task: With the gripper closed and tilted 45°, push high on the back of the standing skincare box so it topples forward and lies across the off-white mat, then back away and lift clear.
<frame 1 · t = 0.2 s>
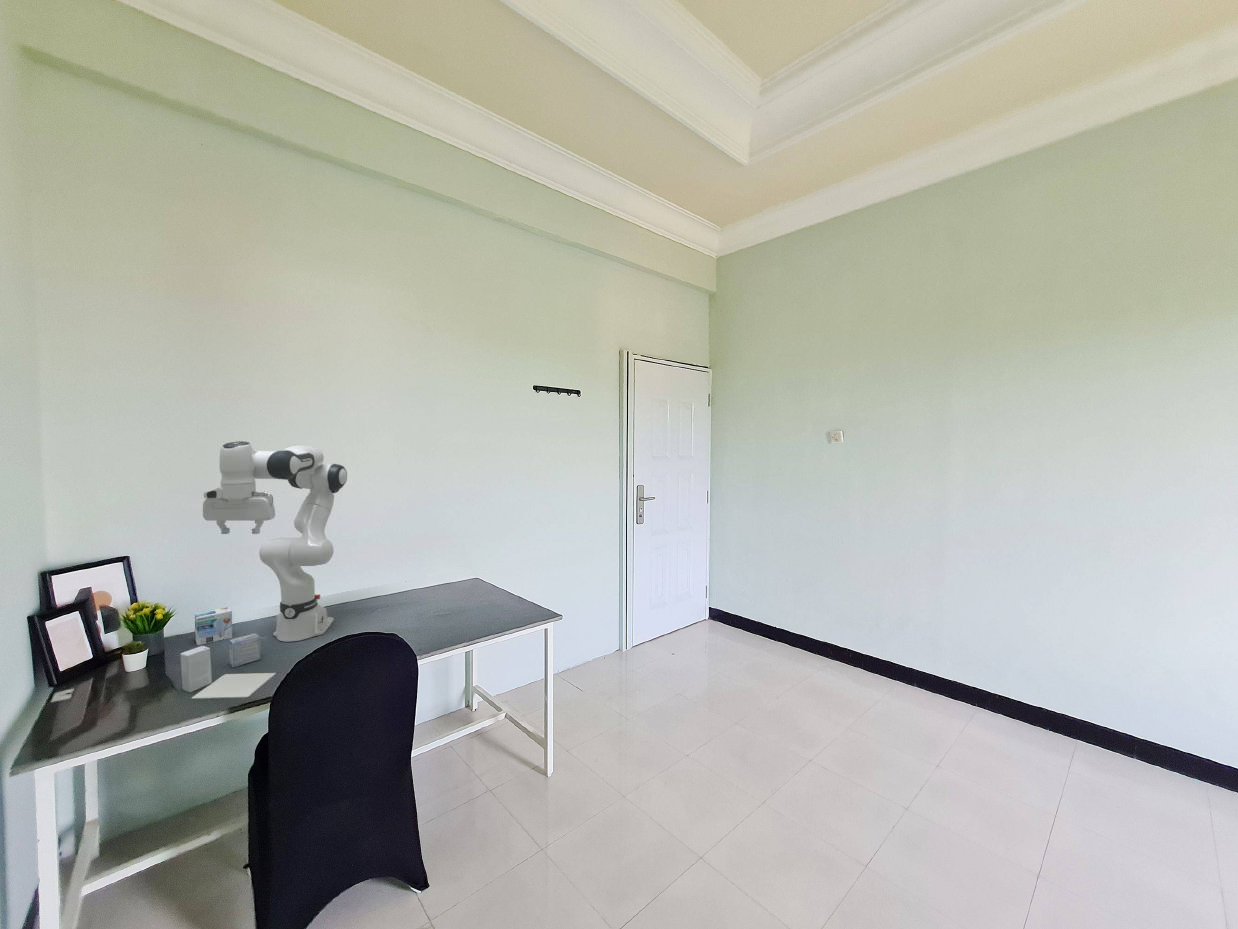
hand: (240, 533, 154), 48 cm above the table, tool pointing down, fingers open, 8 cm apart
light bulb box: (214, 639, 183), on the table
off-white mat: (235, 685, 151), on the table
skincare box: (197, 687, 150), on the table
medicine box: (245, 662, 166), on the table
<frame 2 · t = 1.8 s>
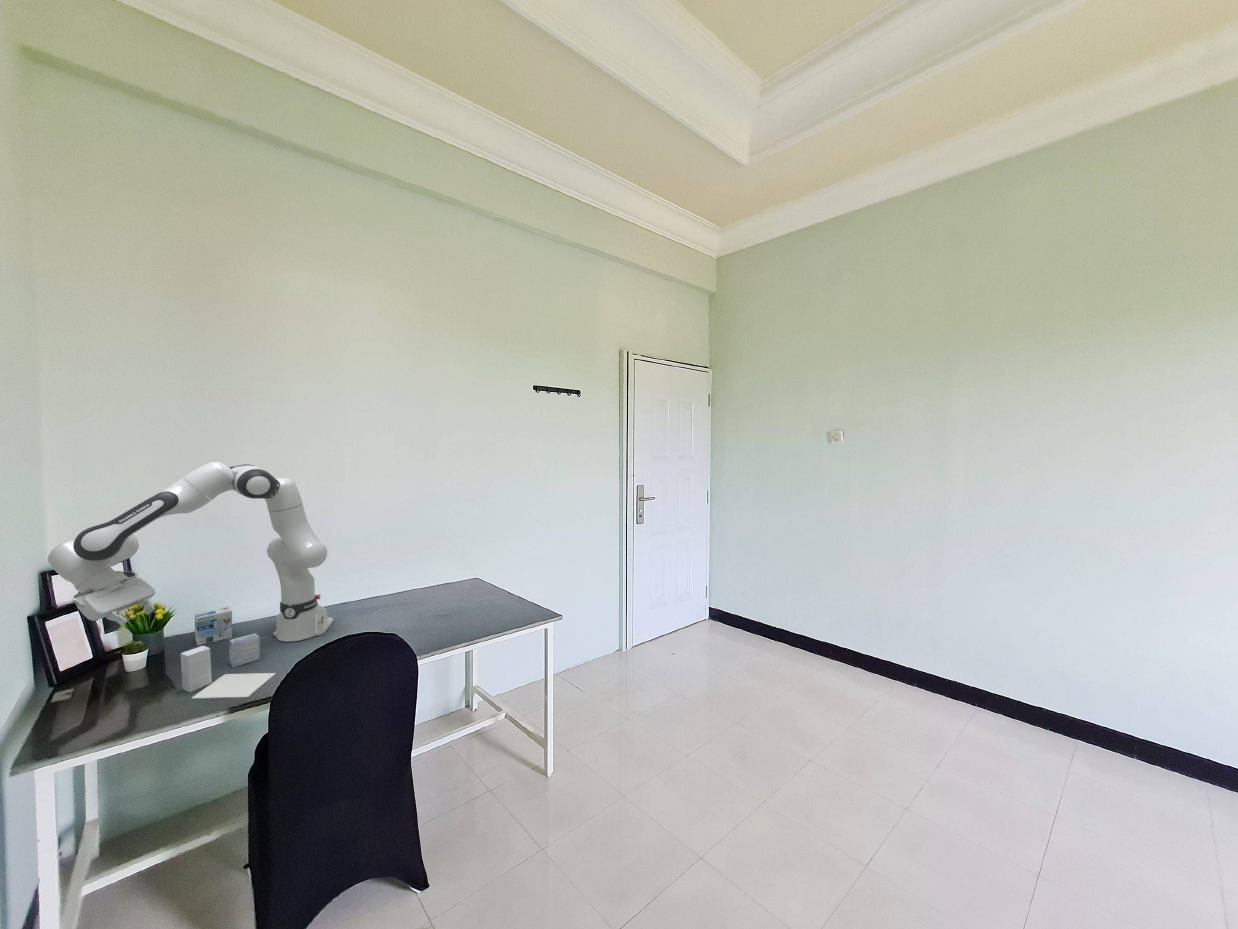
hand: (139, 617, 146), 23 cm above the table, tool tilted 45°, fingers open, 8 cm apart
nothing on the table moved.
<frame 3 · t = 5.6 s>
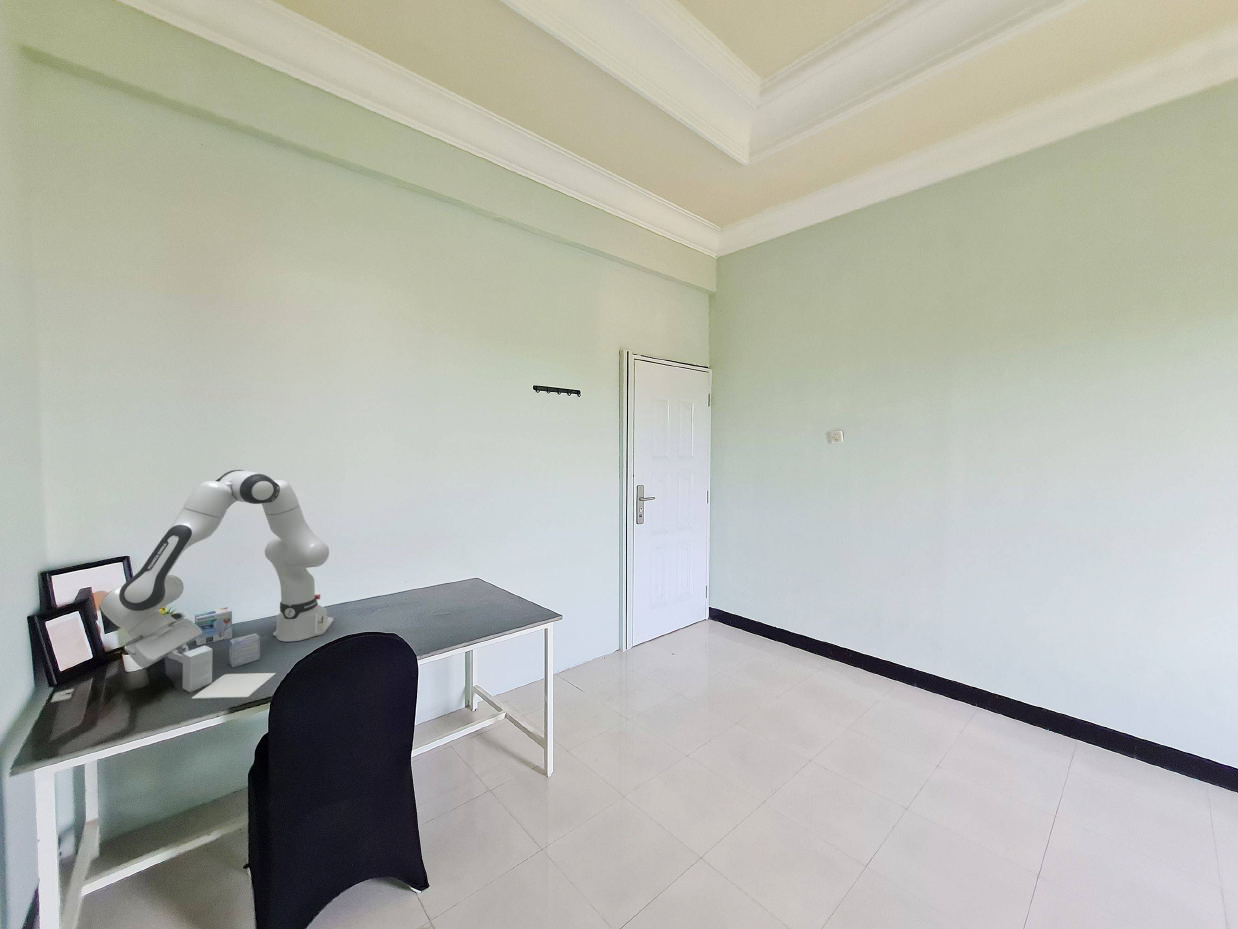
hand: (187, 659, 149), 9 cm above the table, tool tilted 45°, fingers closed
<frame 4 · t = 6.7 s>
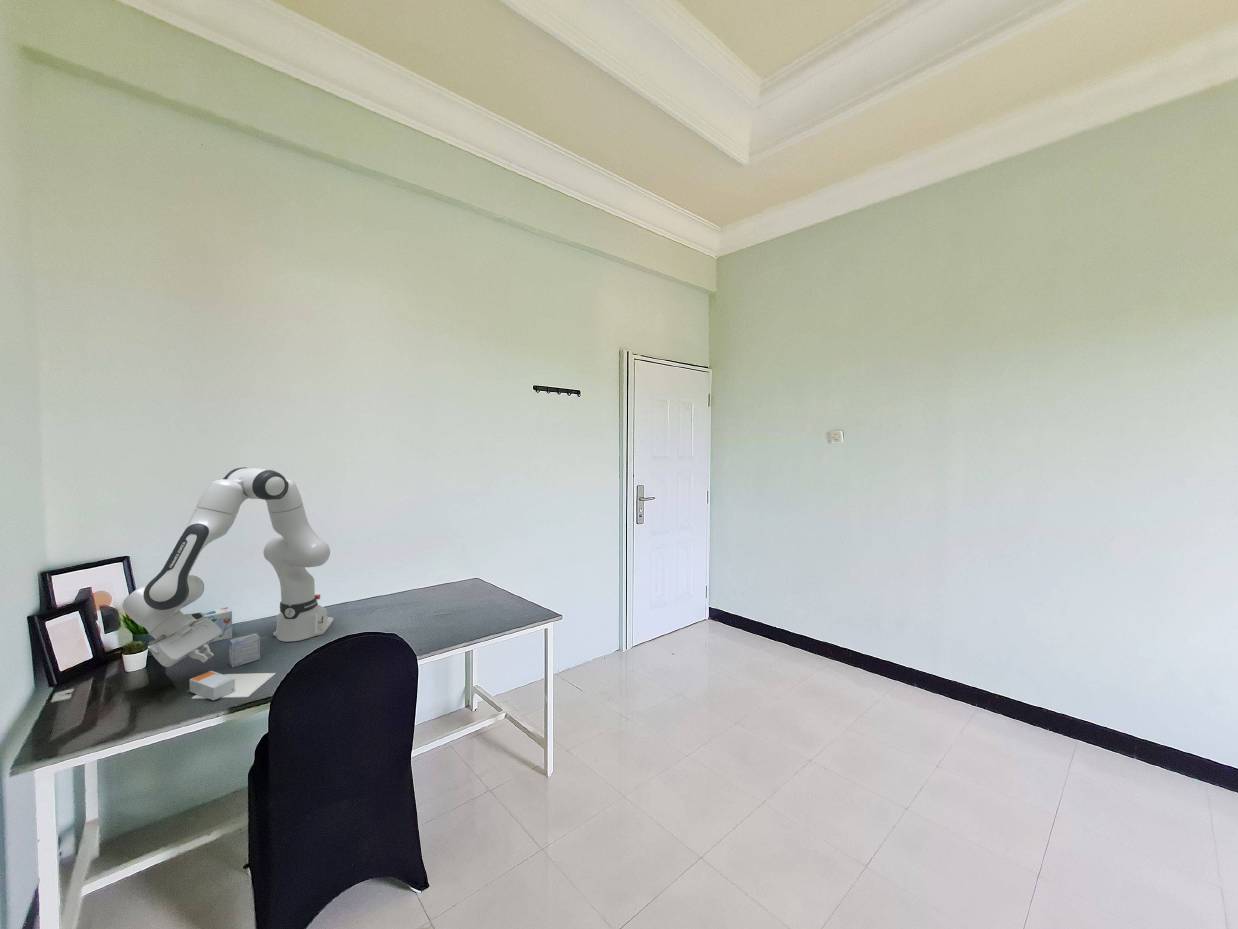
hand: (208, 659, 149), 9 cm above the table, tool tilted 45°, fingers closed
skincare box: (199, 680, 149), point 2 cm above the table, touching off-white mat
everything else where it was.
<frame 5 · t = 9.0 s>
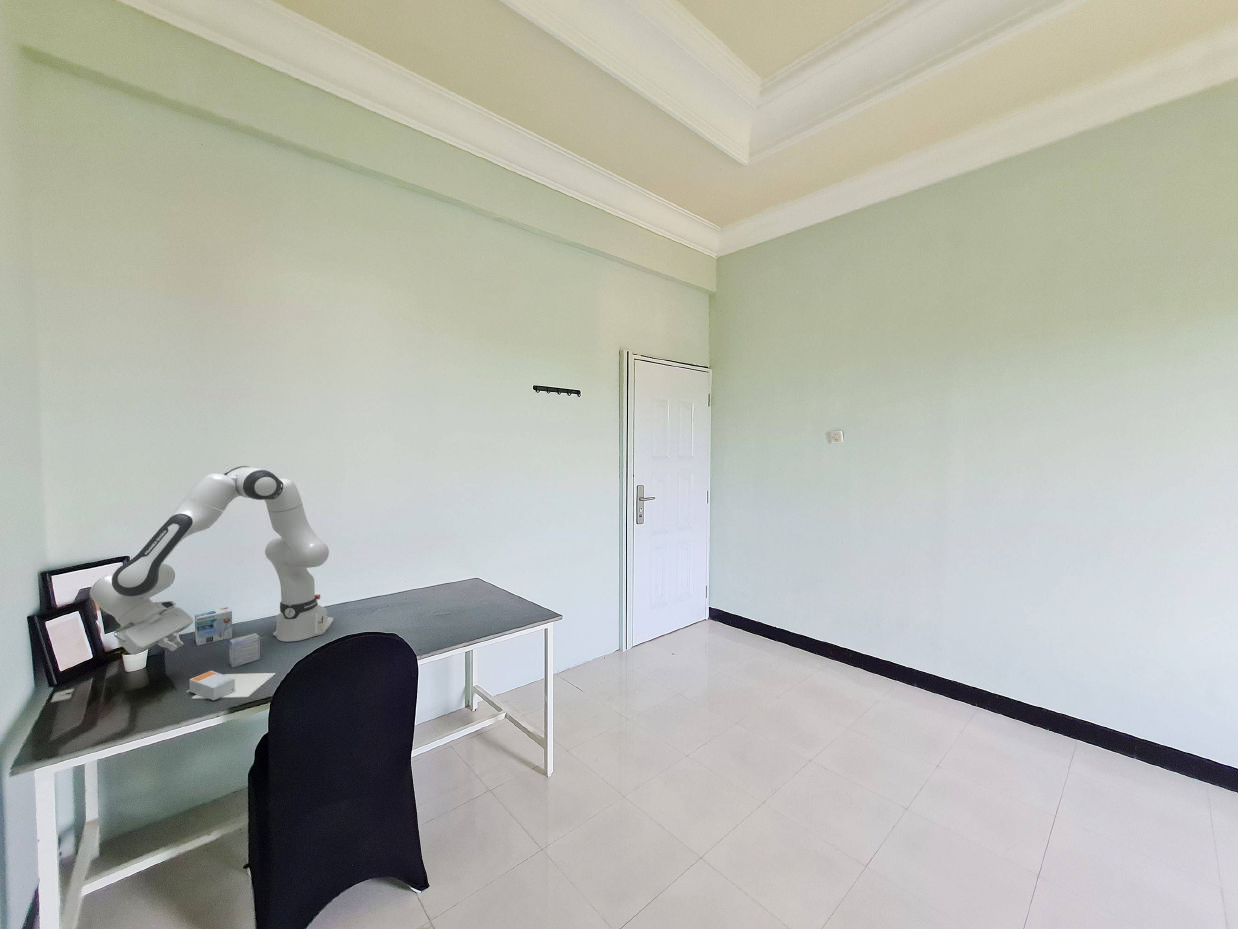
hand: (178, 647, 148), 13 cm above the table, tool tilted 45°, fingers closed
nothing on the table moved.
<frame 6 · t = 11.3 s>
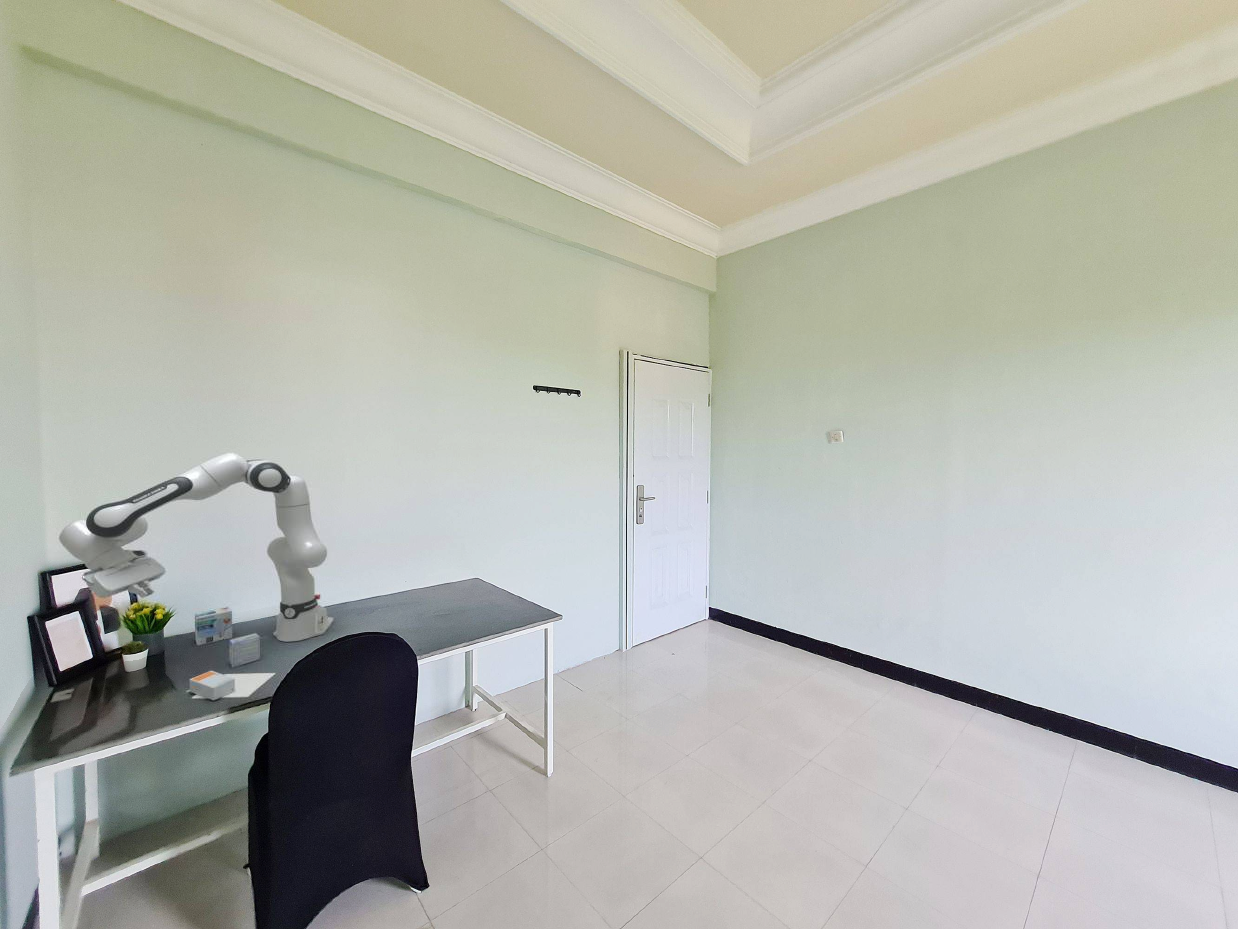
hand: (148, 594, 148), 29 cm above the table, tool tilted 45°, fingers closed
nothing on the table moved.
at the end: skincare box tilted 91°; skincare box touching off-white mat; skincare box inside the target area (7.5 cm from its centre), point 2.5 cm above the table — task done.
